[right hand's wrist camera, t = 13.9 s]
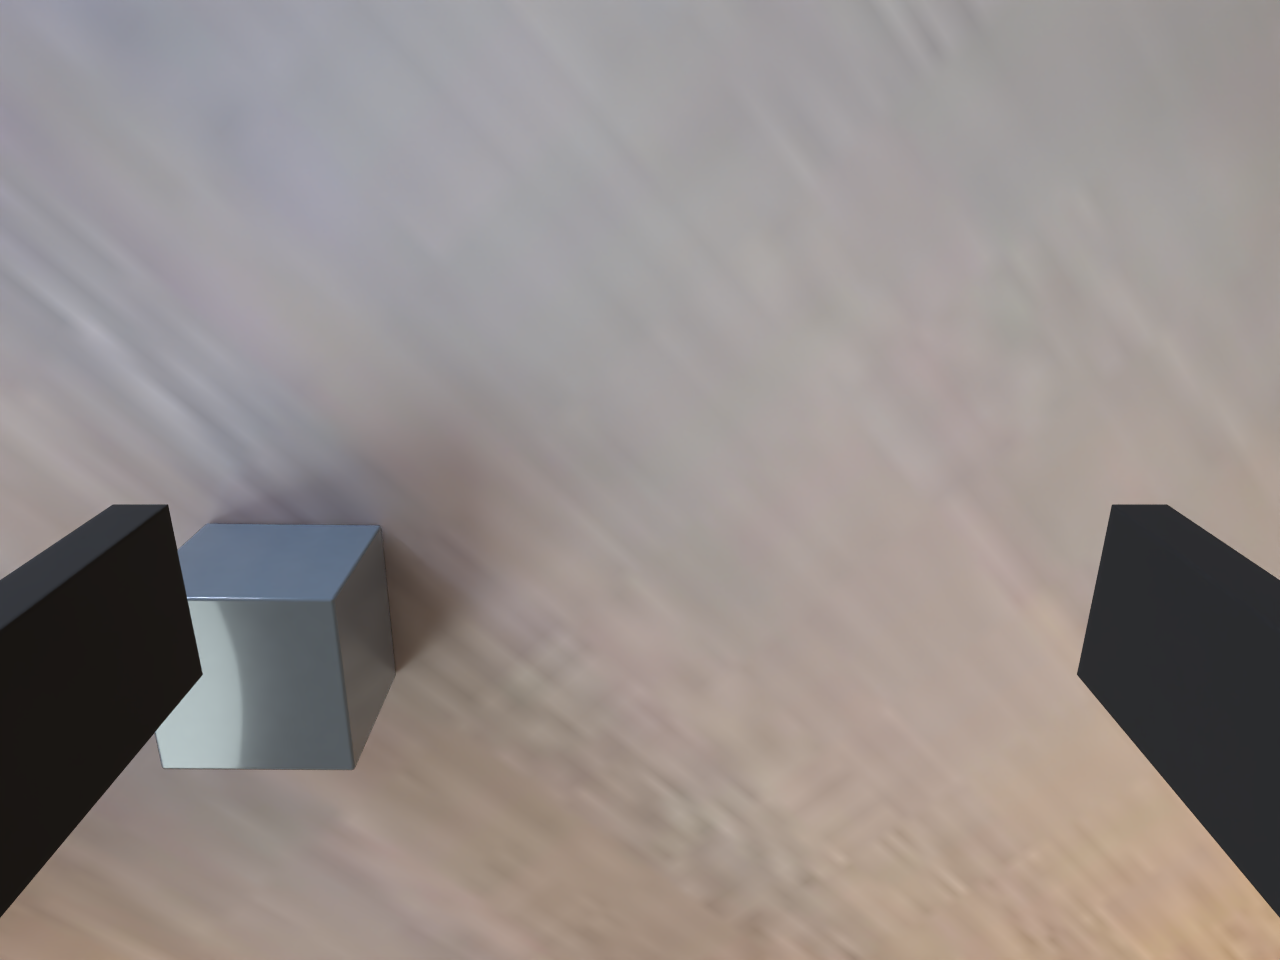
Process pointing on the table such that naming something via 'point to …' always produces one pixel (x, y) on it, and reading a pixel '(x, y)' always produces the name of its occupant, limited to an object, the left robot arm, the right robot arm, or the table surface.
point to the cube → (282, 647)
